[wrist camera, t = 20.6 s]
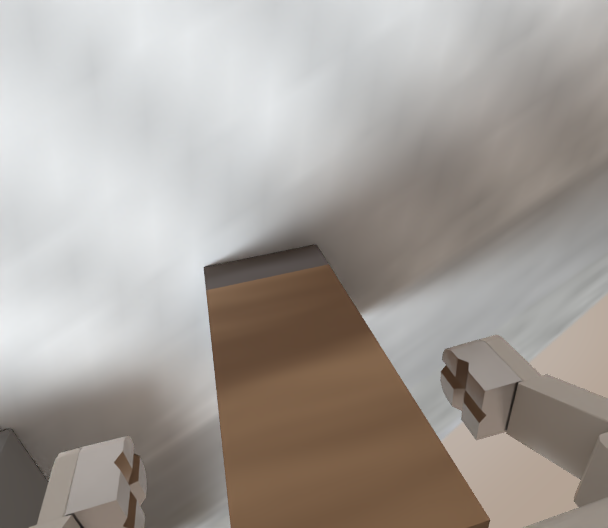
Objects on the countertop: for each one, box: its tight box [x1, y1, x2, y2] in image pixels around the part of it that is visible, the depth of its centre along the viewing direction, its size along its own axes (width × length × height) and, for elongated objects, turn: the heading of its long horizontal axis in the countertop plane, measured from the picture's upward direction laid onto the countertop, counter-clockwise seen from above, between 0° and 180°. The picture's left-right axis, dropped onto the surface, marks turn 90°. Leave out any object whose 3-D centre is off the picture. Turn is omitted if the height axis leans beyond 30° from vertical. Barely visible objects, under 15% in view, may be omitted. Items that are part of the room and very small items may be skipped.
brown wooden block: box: [204, 245, 490, 528], centre depth 12 cm, size 4×4×10 cm
